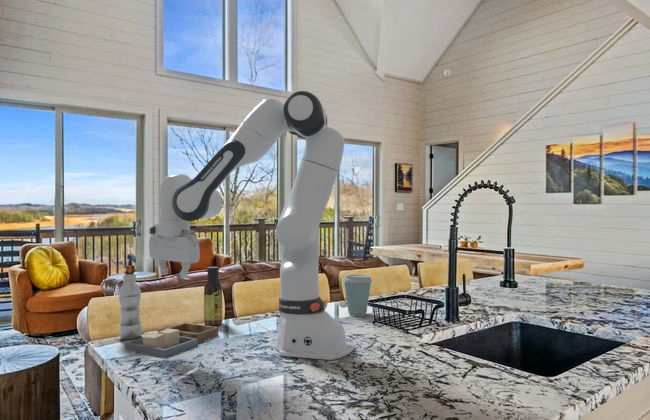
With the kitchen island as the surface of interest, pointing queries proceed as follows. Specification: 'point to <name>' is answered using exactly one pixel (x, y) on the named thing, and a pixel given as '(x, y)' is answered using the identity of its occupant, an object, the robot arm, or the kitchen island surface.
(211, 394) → the kitchen island surface
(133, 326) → the plastic bottle
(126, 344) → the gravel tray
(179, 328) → the brown rectangular tray
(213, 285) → the sauce bottle
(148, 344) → the beige cube
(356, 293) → the disposable coffee cup
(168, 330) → the cream matte cube
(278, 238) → the robot arm
